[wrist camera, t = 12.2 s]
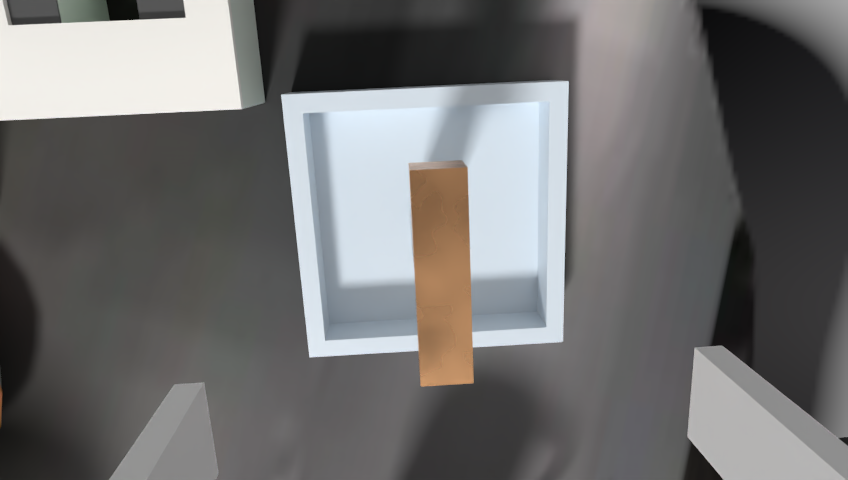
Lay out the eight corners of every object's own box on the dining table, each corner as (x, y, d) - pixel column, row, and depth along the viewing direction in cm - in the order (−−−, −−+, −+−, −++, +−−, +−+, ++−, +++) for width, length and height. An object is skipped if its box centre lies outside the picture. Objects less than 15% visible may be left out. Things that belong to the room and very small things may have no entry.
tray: (316, 335, 38) (309, 357, 35) (291, 92, 34) (281, 94, 31) (550, 321, 38) (562, 341, 36) (554, 79, 34) (568, 81, 31)
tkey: (405, 140, 34) (409, 170, 22) (443, 138, 34) (467, 167, 23) (413, 289, 37) (420, 386, 25) (448, 286, 37) (473, 383, 25)
